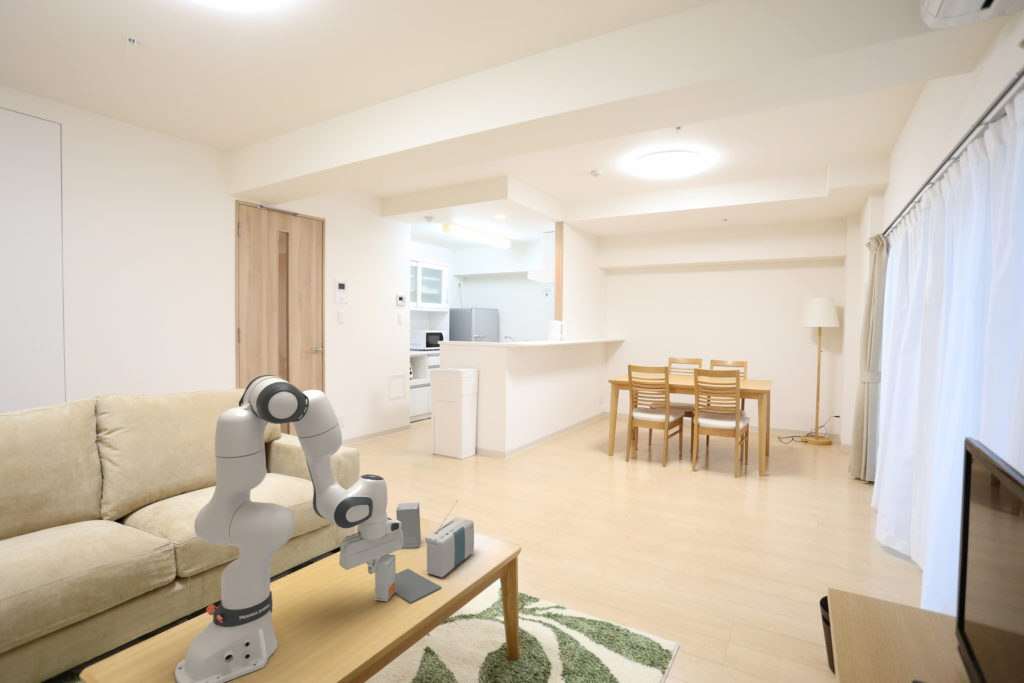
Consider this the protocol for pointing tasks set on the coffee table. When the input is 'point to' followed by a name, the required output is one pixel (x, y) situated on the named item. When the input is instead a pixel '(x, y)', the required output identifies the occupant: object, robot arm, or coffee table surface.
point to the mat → (413, 586)
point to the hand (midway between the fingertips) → (372, 572)
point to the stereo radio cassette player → (449, 545)
